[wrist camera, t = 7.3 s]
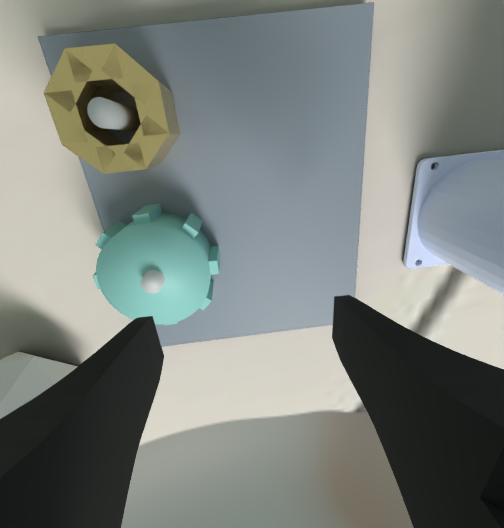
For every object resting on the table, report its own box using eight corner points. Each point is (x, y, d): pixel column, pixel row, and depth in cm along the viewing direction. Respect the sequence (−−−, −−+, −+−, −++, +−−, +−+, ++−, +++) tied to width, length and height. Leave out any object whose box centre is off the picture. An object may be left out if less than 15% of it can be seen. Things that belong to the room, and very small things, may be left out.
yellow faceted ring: (166, 60, 14) (150, 39, 11) (185, 161, 16) (175, 165, 14) (70, 70, 14) (29, 51, 11) (101, 170, 16) (73, 177, 13)
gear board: (365, 10, 15) (420, -43, 11) (348, 315, 23) (375, 355, 19) (45, 43, 14) (-34, 1, 10) (145, 340, 23) (125, 388, 18)
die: (-11, 384, 24) (-21, 517, 20) (-96, 352, 18) (-142, 543, 13) (90, 350, 27) (104, 459, 22) (52, 311, 20) (60, 455, 16)
